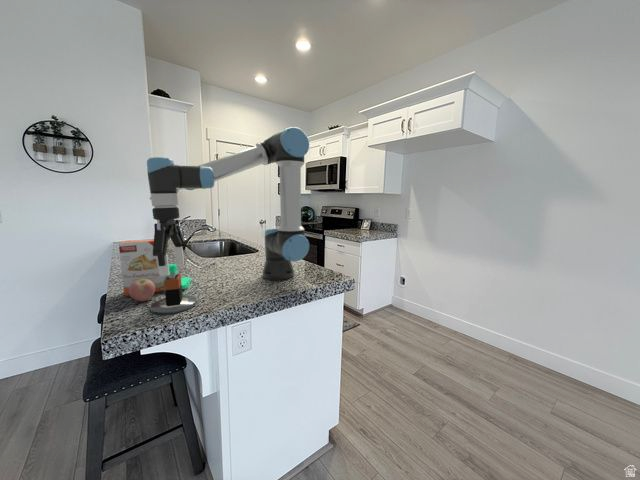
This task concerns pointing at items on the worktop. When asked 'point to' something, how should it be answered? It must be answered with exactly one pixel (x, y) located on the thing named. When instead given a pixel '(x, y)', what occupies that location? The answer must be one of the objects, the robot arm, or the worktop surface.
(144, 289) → the apple
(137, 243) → the cracker box
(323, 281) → the worktop surface
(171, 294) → the battery
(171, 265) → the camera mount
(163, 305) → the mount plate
